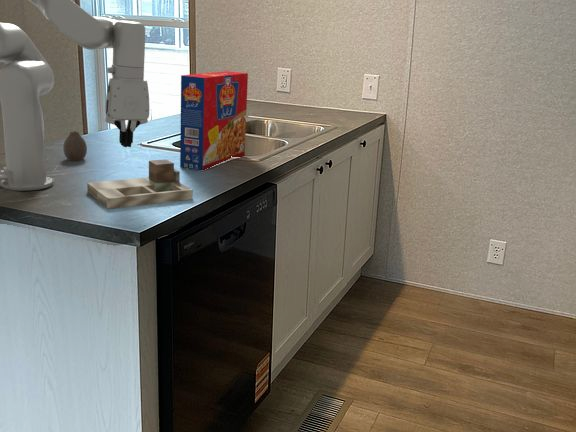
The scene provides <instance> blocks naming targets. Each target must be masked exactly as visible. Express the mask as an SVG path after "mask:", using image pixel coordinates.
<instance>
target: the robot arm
mask: <svg viewBox="0 0 576 432" xmlns="http://www.w3.org/2000/svg"><path fill="white" fill-rule="evenodd" d="M27 1H29V2H30V3H31V4H32V5H34V6H35V7H36V8H37V9H38V10H39V12H41V13H42V15H43V16H44V17H45V18H46V19H47V21H49V22H50V24H51V25H52V26H54V27H55V28H56V29H57V30H58V31H59V32H60V33H62V34H63V35H64V36H65V37H67V38H68V39H70V40H71V41H72V42H74V43H75V45H77V46H80V47H81V48H83V49H86V50H88V51H89V50H91V51H92V50H93V51H94V50H102V49H112V64H111V66H110V67H107V68H106V72H107V73H108V74H111V77H109V81H108V85H107V89H106V97H105V115H106V116H105V119H104V122H106V123H107V124H111V125H113V126H115V127H116V128H117V129H118V130H119V144H120V145H121V147H124V148H127V147H128V148H131V147H132V144H133V143H134V132H135V131H136V129H137V128H138V127H139V126H140V125H144V124H148V120H149V118H150V94H149V85H148V81H147V80H148V79H147V80H146V79H145V54H146V49H145V48H146V26H145V24H144V23H141V22H139V21H132V20H131V21H130V20H117V19H112V18H108V17H104V16H92V15H91V14H90V13H88V12H87V11H86V10H85V9H83V8H82V7H81V6H80V5H78V4H77V3H76V2H74V0H27ZM0 63H4V65H3V67H1V68H0V106H1V114H2V126H3V137H4V139H3V140H4V150H5V152H4V153H5V165H6V166H3V169H2V170H0V186H1V187H2V188H3V189H6V190H11V191H20V192H21V191H22V192H23V191H24V192H26V191H38V190H43V189H44V190H45V189H47V188H51V187H52V186H53V184H54V181H53V178H52V177H49V176H47V163H46V162H47V160H46V145H45V144H46V142H45V140H46V139H45V125H44V115H43V114H44V113H43V109H42V105H41V101H40V97H42V96H44V95H46V94H48V93H49V92H51V90H52V89H53V87H54V85H55V76H54V75H55V74H54V72H53V70H52V68H51V66H50V64H49V63H48V62H47V59H45V57H44V56H43V55H42V53H41V52H40V50H39V49H38V48H37V46H36V45H35V43H34V42H33V41H32V40H31V38H30V37H29V35H28V34H27V33H26V32H25V31H24V30H23V29H21V28H20V27H19V26H17V25H15V24H13V23H10V22H1V21H0ZM126 121H127V124H126Z"/></svg>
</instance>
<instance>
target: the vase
mask: <svg viewBox="0 0 576 432" xmlns="http://www.w3.org/2000/svg"><path fill="white" fill-rule="evenodd" d="M87 145H88V144H87V142H86V141H85V139H84V138H83V137H82V135H81V134H80V132H79V131H77V130H72V131H70V133H69V134H68V136H67V137H66V138H65V140H64V143H63V145H62V146H63V147H62V148H63V154H64V156H65V157H66V159H67V160H69V161H72V162H80V161H82V160H84V159H85V158H86V155H87V154H88V153H87V151H88V150H87V149H88V146H87Z"/></svg>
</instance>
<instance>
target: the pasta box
mask: <svg viewBox="0 0 576 432" xmlns="http://www.w3.org/2000/svg"><path fill="white" fill-rule="evenodd" d="M248 80H249V73H248V72H239V71H228V70H225V71H215V72H203V73H192V74H183V75H180V140H179V142H180V146H179V147H180V150H179V153H180V158H179V160H180V161H179V162H180V163H179V164H180V165H179V167H182V168H181V169H186V168H188V170H192V169H196V170H195V171H198V170H205V169H207V168H210V167H212V166H214V165H216V164H219V163H221V162H223V161H226V160H228V159H230V158H231V156H232V157H241V158H243V157H245V156H246V154H245V153H246V135H247V134H246V132H247V131H246V130H247V129H246V128H247V108H248V107H247V105H248ZM210 169H211V168H210ZM207 170H208V169H207ZM205 171H206V170H205Z"/></svg>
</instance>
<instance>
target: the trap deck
mask: <svg viewBox="0 0 576 432" xmlns="http://www.w3.org/2000/svg"><path fill="white" fill-rule="evenodd" d="M180 177H181V176H180V171H179V170H177V169H176V168H174V182H165V183H155V182H153V181H152V180H150V179H149V176H148V177H137V178H136V177H135V178H127V179H126V178H125V179H113V180H105V181H104V180H103V181H90V182H86V184H87V185H86V186H87V193H88V194H89V195H91V196H92V197H93V198H94V199H96V201H98V202H99V203H100V204H102V205H103V206H104V207H106V208H107V210H109V209H115V208H116V209H118V208H126V207H127V208H128V207H136V206H143V205H152V204H154V205H155V204H163V203H171V202H178V201H179V200H181V201H189V199H190V200H193V199H194V198H193V197H194V195H193V192H194V190H193V189H192V188H190V187H188V186H187V185H185V184H183V183H181V182H180V180H181V179H180ZM179 202H180V201H179Z"/></svg>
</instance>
